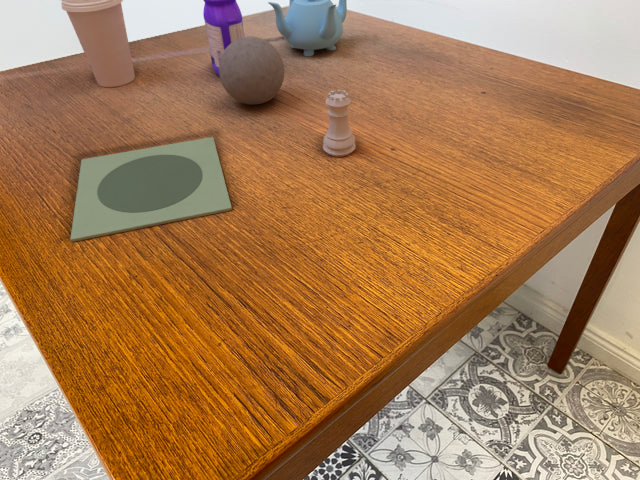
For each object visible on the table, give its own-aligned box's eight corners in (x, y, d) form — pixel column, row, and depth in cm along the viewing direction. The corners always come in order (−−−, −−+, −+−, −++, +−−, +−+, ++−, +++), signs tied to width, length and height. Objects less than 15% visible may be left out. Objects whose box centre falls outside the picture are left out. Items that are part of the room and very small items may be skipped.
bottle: (255, 75, 91) (241, -34, 80) (226, 84, 89) (207, -28, 78) (236, 63, 96) (220, -42, 85) (208, 71, 94) (188, -36, 82)
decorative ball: (268, 83, 88) (261, 22, 82) (298, 103, 82) (293, 39, 75) (214, 99, 84) (202, 37, 78) (242, 122, 78) (232, 56, 71)
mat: (82, 161, 71) (81, 158, 70) (213, 139, 74) (213, 136, 74) (71, 242, 57) (69, 239, 57) (232, 210, 61) (231, 207, 60)
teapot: (336, 62, 94) (335, 4, 88) (268, 57, 97) (262, 0, 91) (352, 38, 104) (352, -17, 97) (290, 34, 107) (286, -19, 100)
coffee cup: (78, 82, 92) (45, -8, 83) (124, 65, 98) (99, -22, 88) (107, 95, 87) (76, 1, 78) (154, 77, 93) (131, -14, 83)
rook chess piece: (351, 159, 68) (350, 103, 63) (318, 155, 69) (315, 99, 64) (359, 143, 71) (359, 88, 66) (328, 139, 72) (326, 85, 67)
